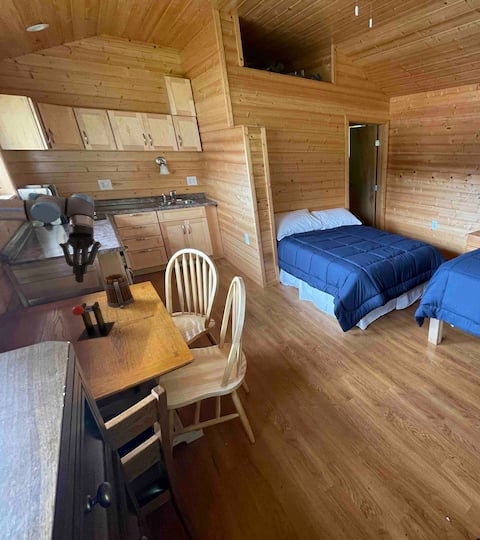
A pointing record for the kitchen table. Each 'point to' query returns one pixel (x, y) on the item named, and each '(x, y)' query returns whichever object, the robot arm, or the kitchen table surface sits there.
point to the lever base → (96, 329)
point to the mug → (118, 291)
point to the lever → (81, 309)
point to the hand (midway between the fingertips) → (79, 281)
